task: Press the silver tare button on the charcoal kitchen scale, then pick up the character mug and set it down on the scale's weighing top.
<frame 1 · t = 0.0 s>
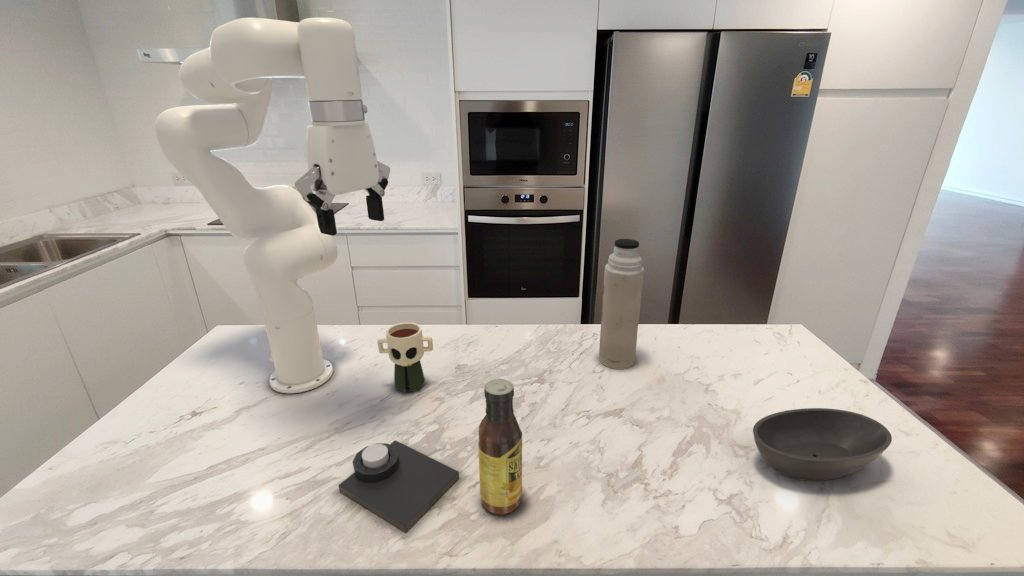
hand: (353, 226, 77), 37 cm above the counter, tool pointing down, fingers open, 9 cm apart
tare button: (375, 456, 76), point 3 cm above the counter, slide at 0.1 cm
bowl: (812, 464, 78), on the counter
sauce bottle: (501, 500, 72), on the counter
thermos bottle: (616, 360, 109), on the counter
character mug: (410, 385, 100), on the counter
scale: (400, 485, 75), on the counter
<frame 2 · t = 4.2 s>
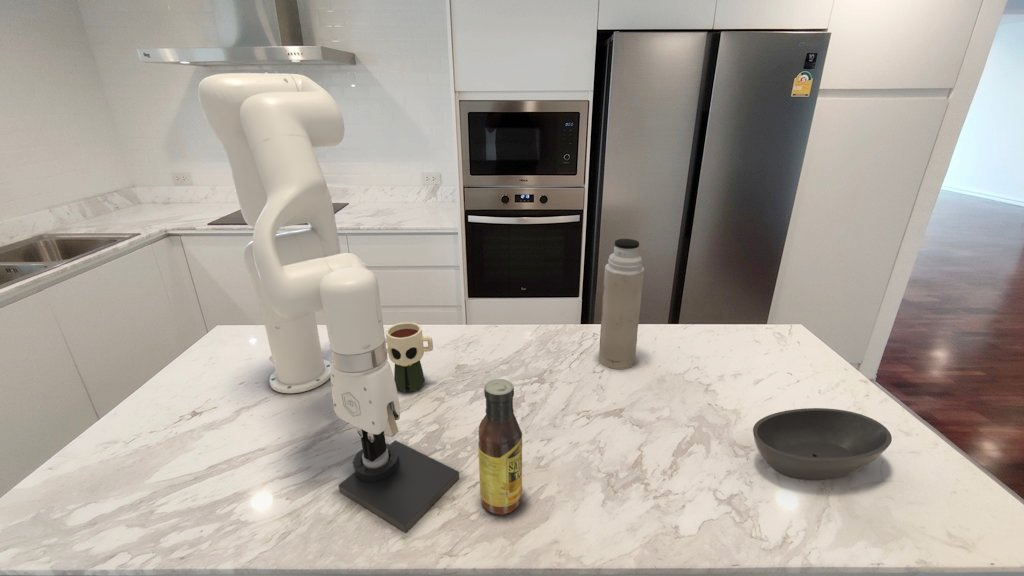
hand: (375, 454, 76), 4 cm above the counter, tool pointing down, fingers closed
tare button: (375, 457, 76), point 3 cm above the counter, slide at -0.2 cm, touching gripper
everything else where it was.
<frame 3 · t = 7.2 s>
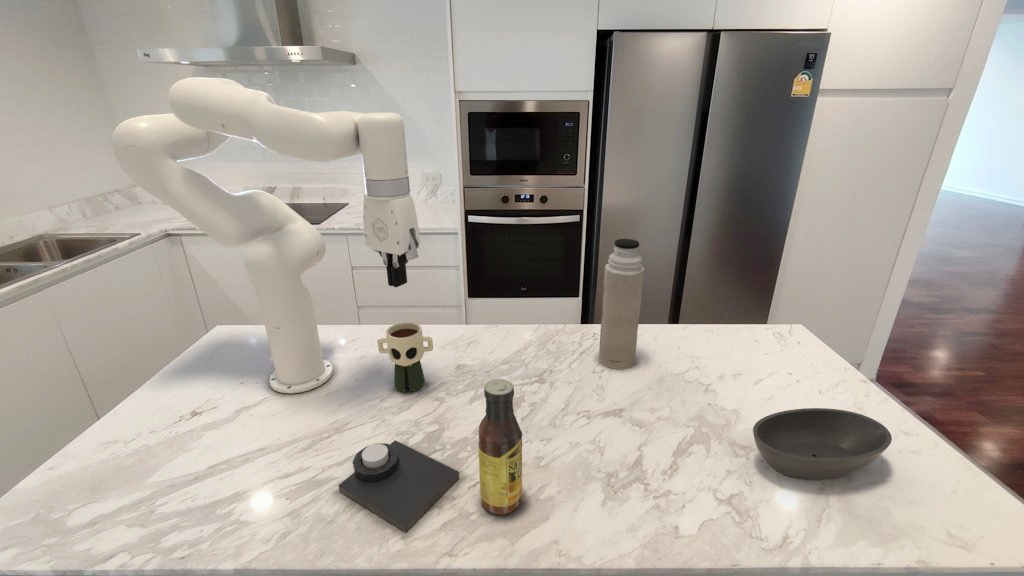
hand: (397, 284, 91), 23 cm above the counter, tool pointing down, fingers closed
tare button: (375, 456, 76), point 3 cm above the counter, slide at 0.1 cm
everything else where it was.
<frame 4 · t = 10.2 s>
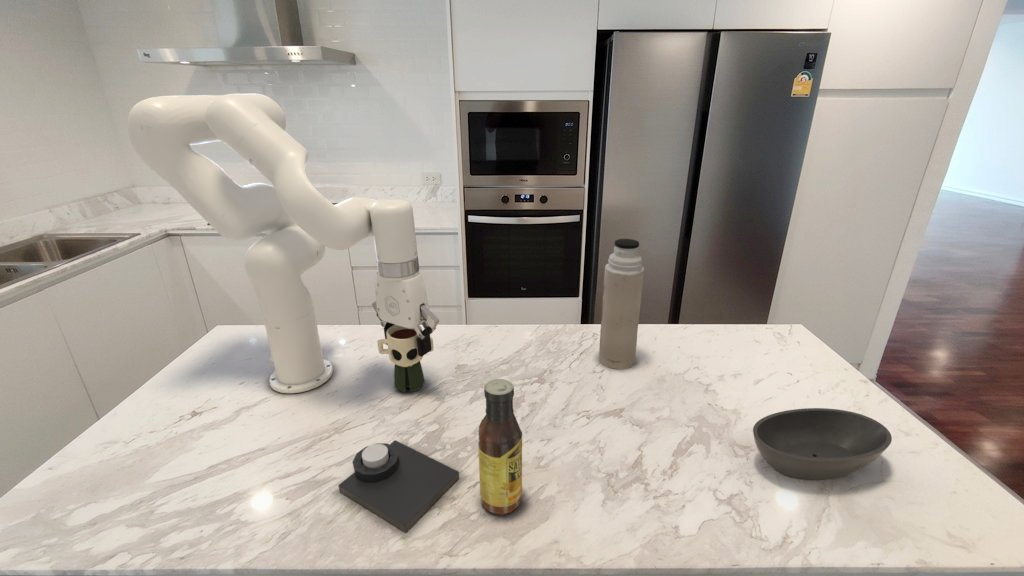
hand: (408, 347, 97), 9 cm above the counter, tool pointing down, fingers closed on character mug, 8 cm apart
character mug: (409, 385, 100), on the counter, touching gripper
everything else where it was.
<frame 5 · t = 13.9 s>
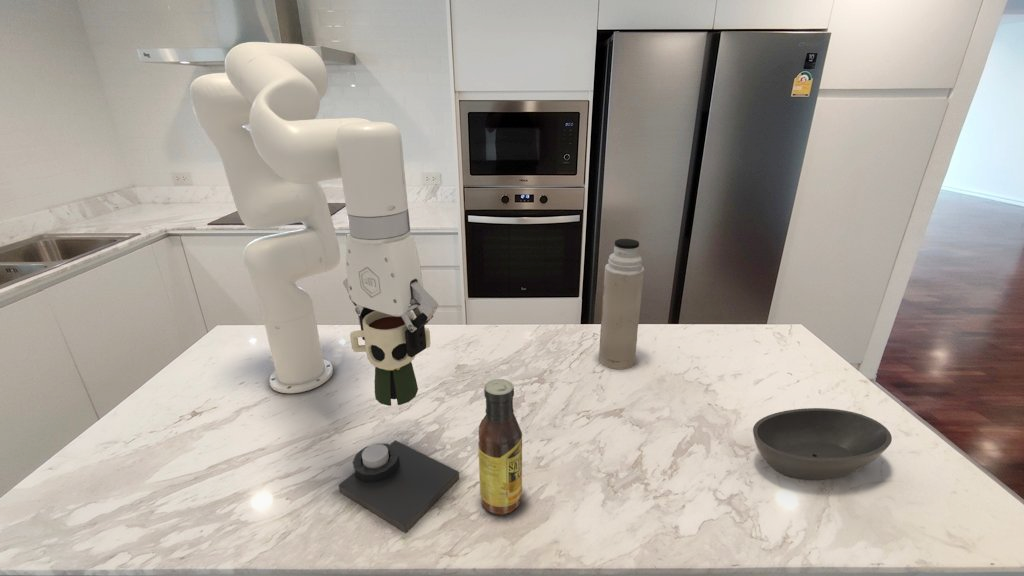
hand: (394, 343, 68), 24 cm above the counter, tool pointing down, fingers closed on character mug, 8 cm apart
character mug: (397, 396, 71), point 15 cm above the counter, touching gripper
everything else where it was.
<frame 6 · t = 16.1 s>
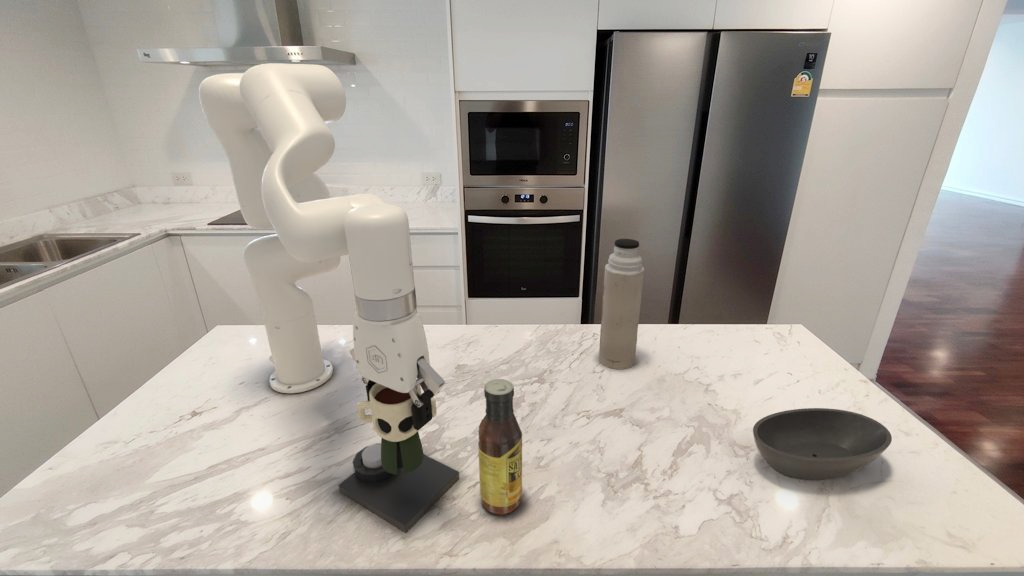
hand: (400, 413, 68), 14 cm above the counter, tool pointing down, fingers closed on character mug, 8 cm apart
character mug: (403, 462, 72), point 5 cm above the counter, touching gripper
everything else where it was.
when the fingers open (12 cm above the counter, at t = 17.5 s): character mug drops 1 cm, resting on scale.
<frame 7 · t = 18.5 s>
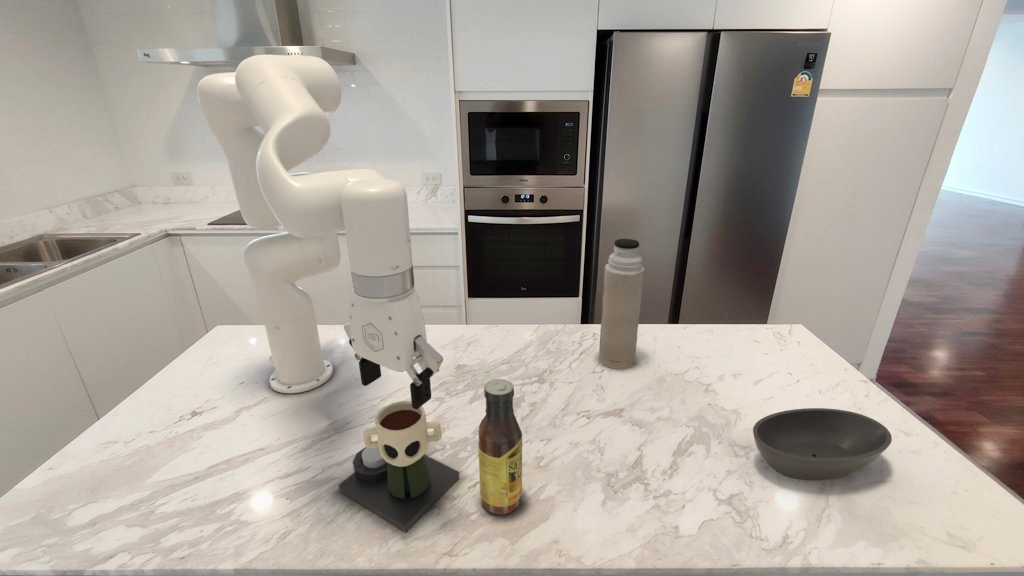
hand: (396, 391, 67), 18 cm above the counter, tool pointing down, fingers open, 9 cm apart
character mug: (409, 486, 73), point 1 cm above the counter, touching scale
everything else where it was.
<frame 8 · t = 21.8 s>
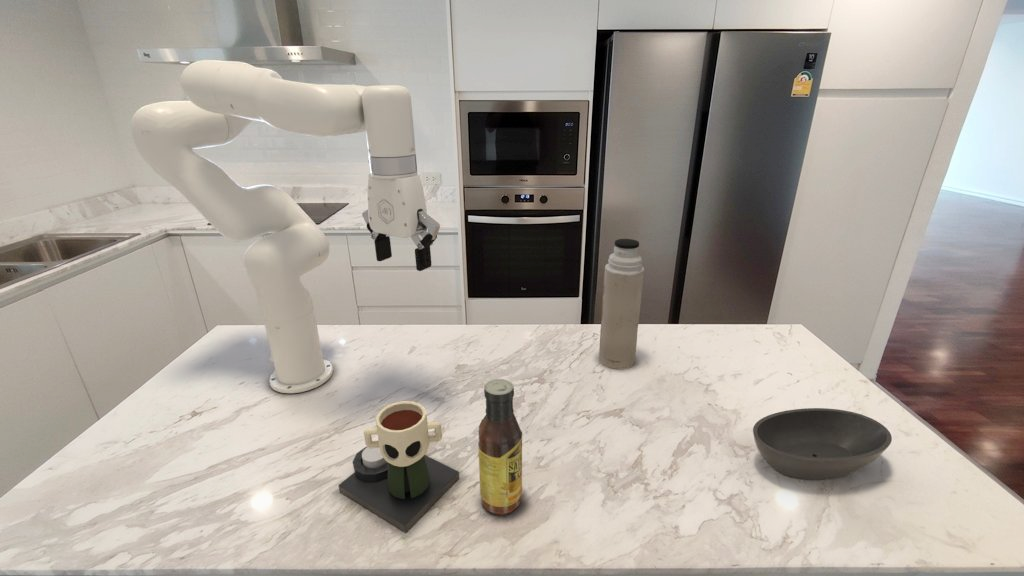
hand: (403, 263, 86), 28 cm above the counter, tool pointing down, fingers open, 9 cm apart
nothing on the counter moved.
at the end: tare button pushed in 0.9 cm at the most during the clip, back to where it started at the end; character mug inside the target area on the scale (0.5 cm from its centre), point 1.2 cm above the scale's base; character mug tilted 0° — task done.
